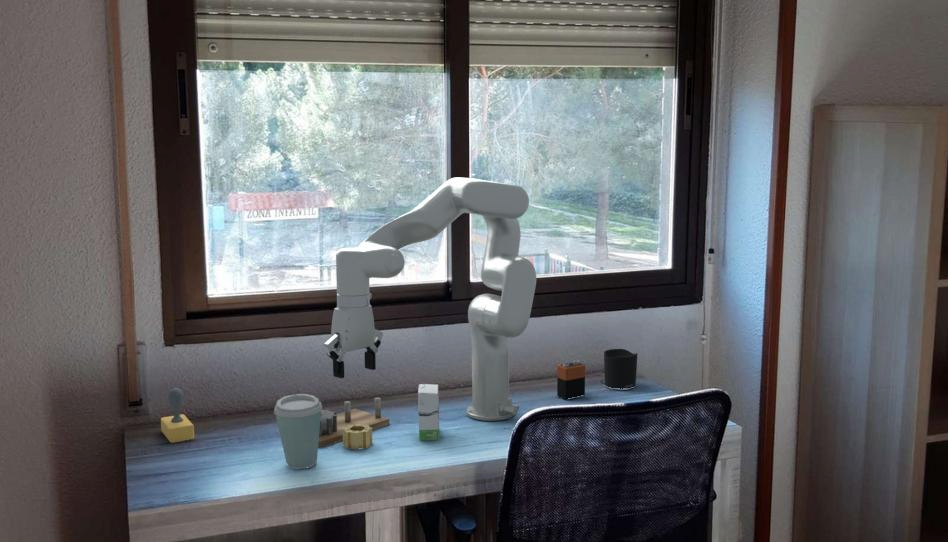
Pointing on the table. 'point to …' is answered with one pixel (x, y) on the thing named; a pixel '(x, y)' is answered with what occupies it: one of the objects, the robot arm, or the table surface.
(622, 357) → the pen holder
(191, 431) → the rubber stamp
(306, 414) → the disposable coffee cup
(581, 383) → the battery
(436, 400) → the ink box
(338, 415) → the gear board
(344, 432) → the brass gear
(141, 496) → the table surface
